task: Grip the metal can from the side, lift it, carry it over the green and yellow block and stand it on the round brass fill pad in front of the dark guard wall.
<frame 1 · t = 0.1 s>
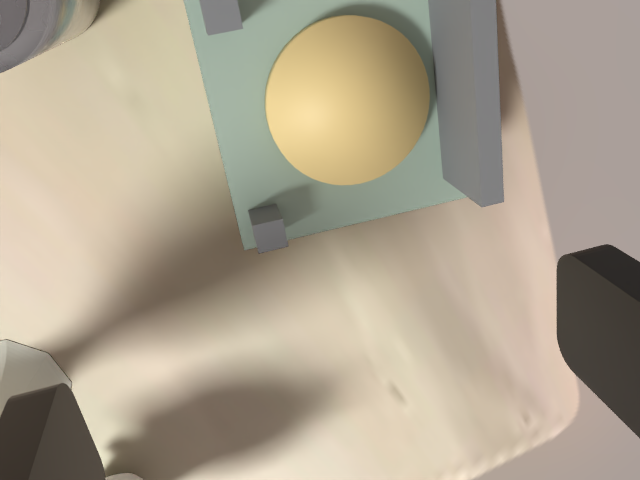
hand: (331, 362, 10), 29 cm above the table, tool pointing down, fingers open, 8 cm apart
green and yellow block: (322, 84, 37), on the table
vase: (5, 393, 41), on the table
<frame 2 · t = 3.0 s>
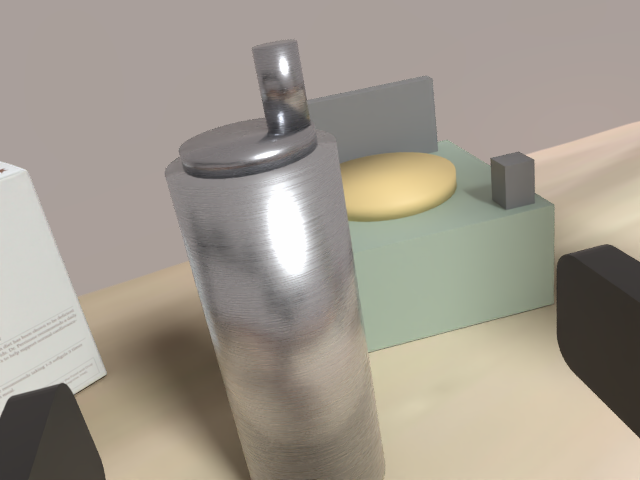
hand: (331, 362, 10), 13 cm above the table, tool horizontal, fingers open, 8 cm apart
green and yellow block: (394, 277, 39), on the table
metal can: (318, 470, 25), on the table
supplement box: (23, 391, 35), on the table
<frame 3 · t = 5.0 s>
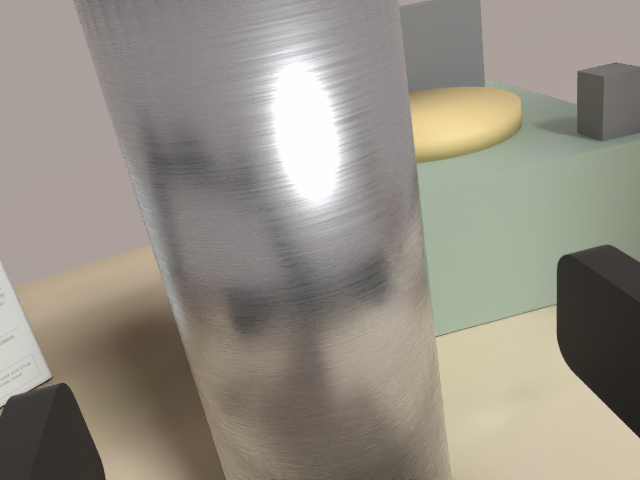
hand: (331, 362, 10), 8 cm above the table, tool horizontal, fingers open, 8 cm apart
green and yellow block: (434, 249, 30), on the table
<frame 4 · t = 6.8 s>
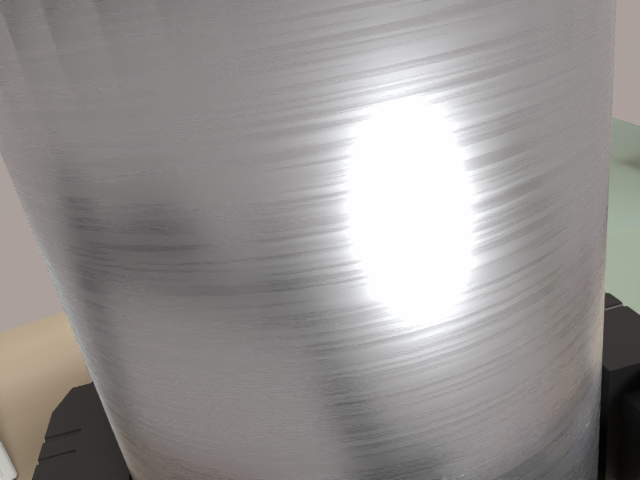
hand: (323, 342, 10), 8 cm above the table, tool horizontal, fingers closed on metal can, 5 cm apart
green and yellow block: (484, 304, 25), on the table
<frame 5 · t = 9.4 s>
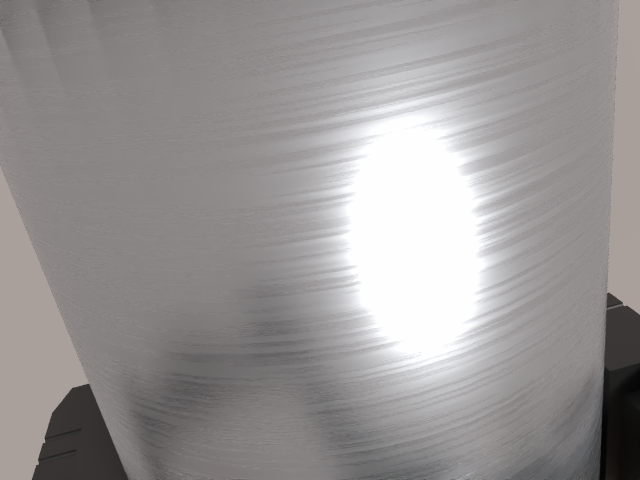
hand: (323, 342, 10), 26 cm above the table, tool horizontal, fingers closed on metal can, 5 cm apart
when the fingers open (16 cm above the table, at t = 12.1 s): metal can stays where it is, resting on green and yellow block.
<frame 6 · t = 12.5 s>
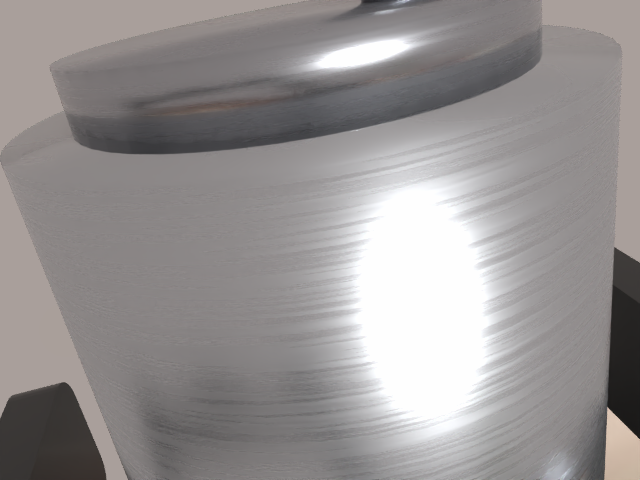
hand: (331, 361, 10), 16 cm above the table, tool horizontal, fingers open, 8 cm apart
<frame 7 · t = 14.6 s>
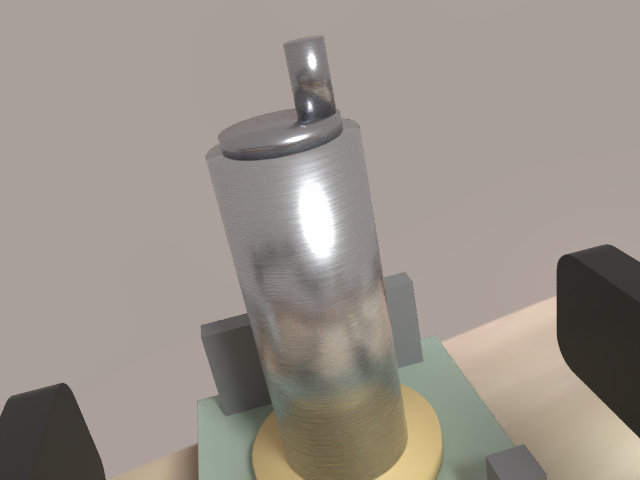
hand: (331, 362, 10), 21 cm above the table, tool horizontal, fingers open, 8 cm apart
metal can: (345, 438, 27), point 7 cm above the table, touching green and yellow block
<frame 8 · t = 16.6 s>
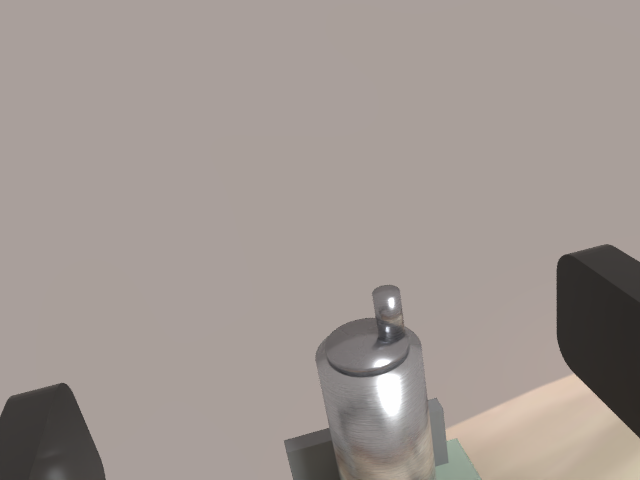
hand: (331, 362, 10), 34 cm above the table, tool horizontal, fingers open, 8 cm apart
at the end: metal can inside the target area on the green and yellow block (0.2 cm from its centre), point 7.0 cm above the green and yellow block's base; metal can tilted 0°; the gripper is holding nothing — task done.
